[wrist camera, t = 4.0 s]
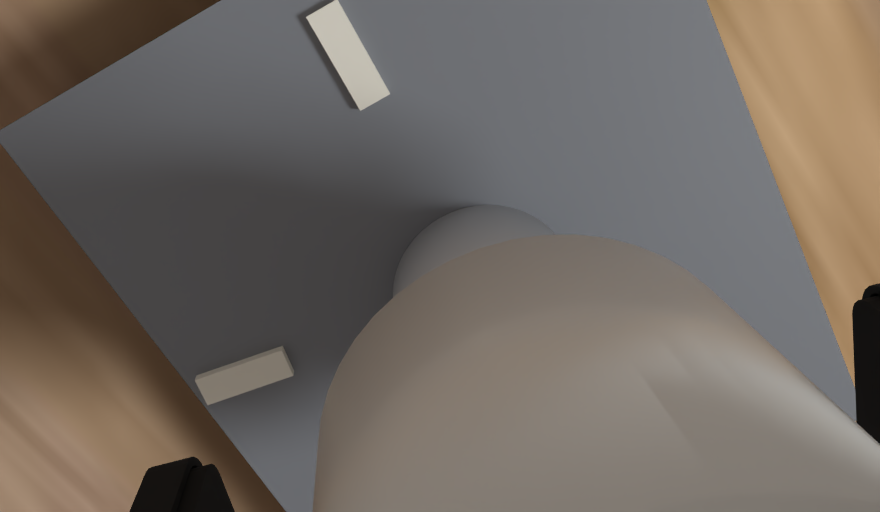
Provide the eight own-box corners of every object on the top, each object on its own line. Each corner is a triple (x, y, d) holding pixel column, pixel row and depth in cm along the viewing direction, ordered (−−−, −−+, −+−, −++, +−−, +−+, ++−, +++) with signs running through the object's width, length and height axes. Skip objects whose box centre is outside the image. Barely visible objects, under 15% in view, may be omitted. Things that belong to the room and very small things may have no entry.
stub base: (794, 353, 20) (1051, 580, 13) (388, 559, 21) (406, 883, 14) (569, -197, 15) (772, -350, 8) (55, 105, 16) (-199, 222, 9)
